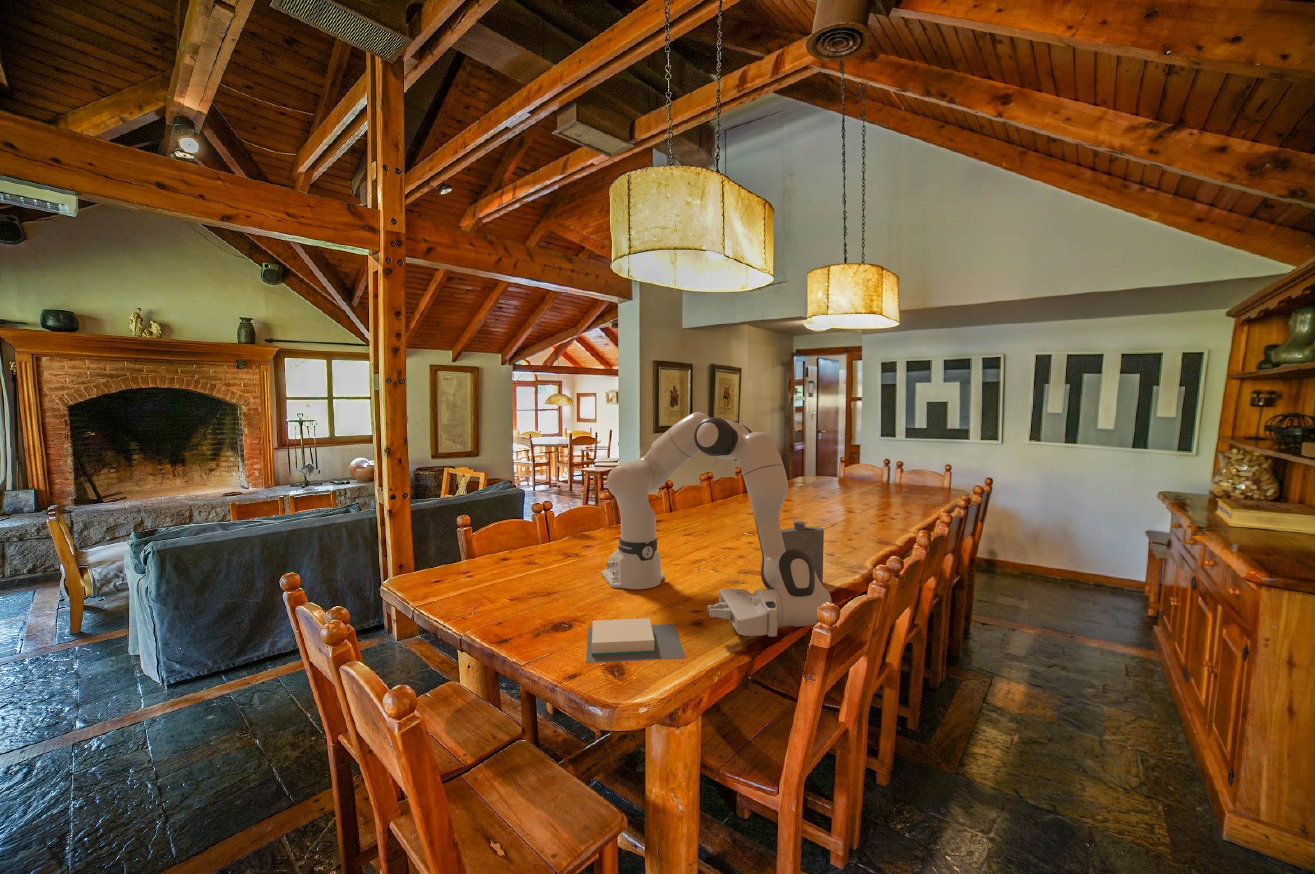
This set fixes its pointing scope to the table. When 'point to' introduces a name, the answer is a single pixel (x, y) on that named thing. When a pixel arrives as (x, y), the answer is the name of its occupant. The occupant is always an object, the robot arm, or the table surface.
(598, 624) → the tile
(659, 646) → the mat
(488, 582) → the table surface
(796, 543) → the hip flask
